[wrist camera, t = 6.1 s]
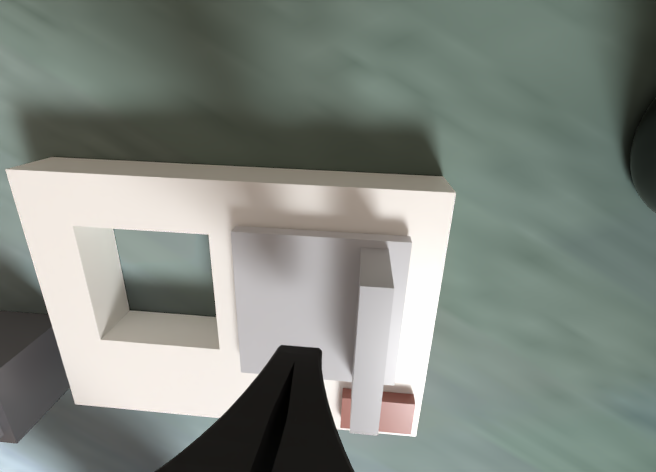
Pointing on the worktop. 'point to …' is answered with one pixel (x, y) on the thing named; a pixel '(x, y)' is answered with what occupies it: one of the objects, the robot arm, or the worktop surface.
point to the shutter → (324, 305)
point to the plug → (27, 372)
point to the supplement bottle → (645, 157)
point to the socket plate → (217, 221)
